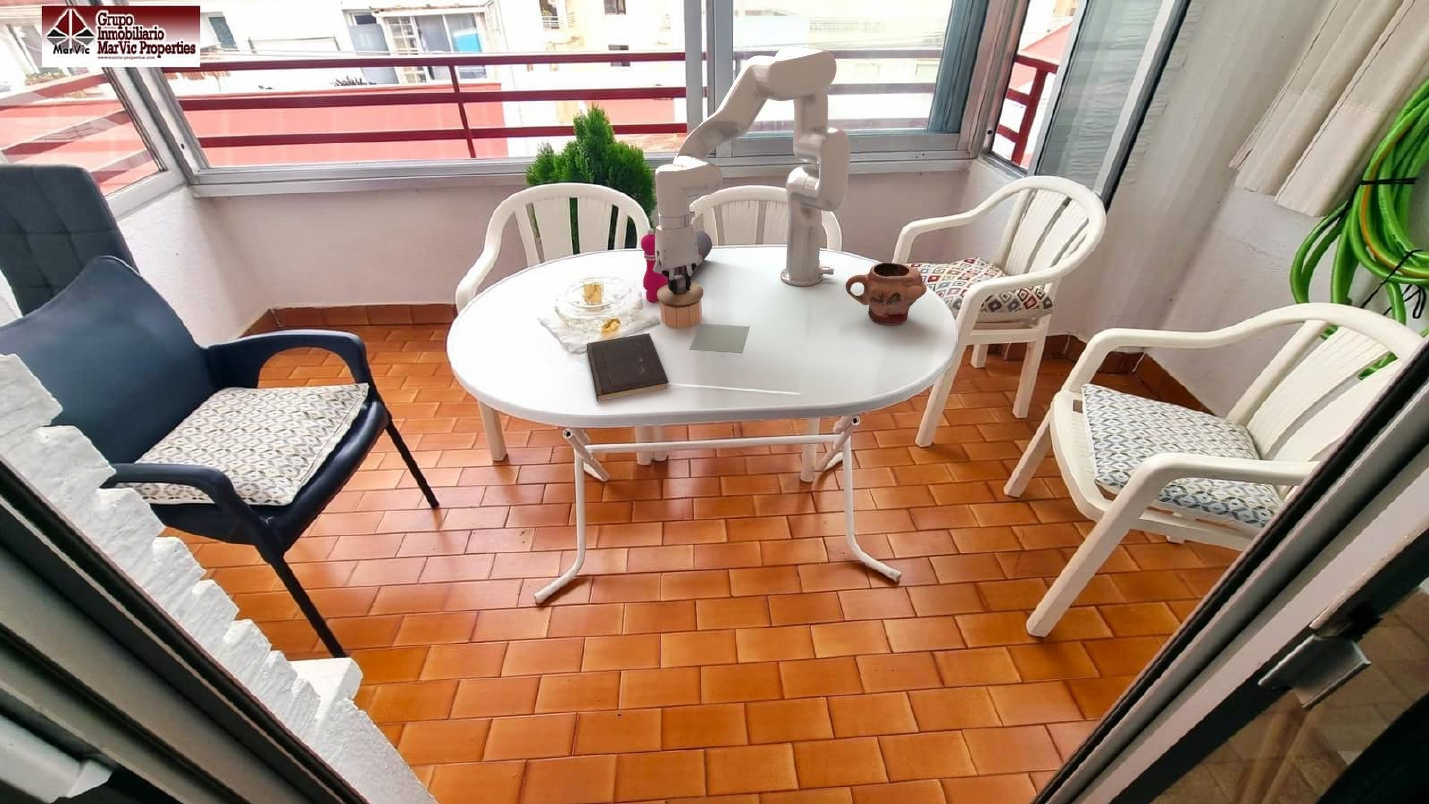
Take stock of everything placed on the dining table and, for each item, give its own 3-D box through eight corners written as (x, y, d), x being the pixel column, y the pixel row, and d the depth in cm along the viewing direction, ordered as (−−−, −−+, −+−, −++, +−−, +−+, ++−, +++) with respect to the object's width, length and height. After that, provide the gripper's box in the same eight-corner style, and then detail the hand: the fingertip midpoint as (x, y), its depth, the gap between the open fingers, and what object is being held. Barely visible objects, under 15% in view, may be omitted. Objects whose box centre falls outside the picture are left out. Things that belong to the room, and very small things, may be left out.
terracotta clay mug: (846, 330, 146) (852, 279, 138) (838, 308, 156) (844, 259, 148) (925, 328, 146) (936, 277, 137) (913, 306, 156) (922, 257, 147)
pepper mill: (671, 291, 167) (666, 224, 156) (667, 303, 162) (661, 233, 150) (647, 291, 168) (639, 223, 156) (642, 302, 162) (634, 233, 151)
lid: (707, 285, 153) (706, 268, 151) (698, 306, 144) (697, 288, 141) (663, 283, 155) (662, 267, 152) (652, 304, 146) (650, 286, 143)
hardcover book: (650, 340, 146) (649, 332, 145) (669, 390, 128) (668, 381, 127) (586, 351, 143) (585, 343, 142) (597, 403, 125) (596, 395, 124)
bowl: (704, 310, 157) (703, 290, 154) (696, 330, 149) (695, 309, 145) (667, 308, 159) (666, 288, 155) (657, 327, 150) (655, 307, 147)
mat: (749, 327, 149) (749, 326, 149) (742, 354, 139) (742, 352, 138) (700, 324, 151) (700, 323, 151) (689, 350, 141) (689, 349, 141)
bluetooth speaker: (687, 289, 169) (685, 257, 163) (658, 285, 171) (655, 253, 165) (714, 260, 185) (713, 229, 180) (688, 257, 188) (686, 227, 182)
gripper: (698, 209, 144) (702, 278, 155) (637, 221, 138) (645, 292, 149) (712, 218, 138) (714, 288, 149) (648, 231, 132) (656, 303, 143)
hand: (680, 289), depth 149 cm, fingers closed on lid, 3 cm apart
